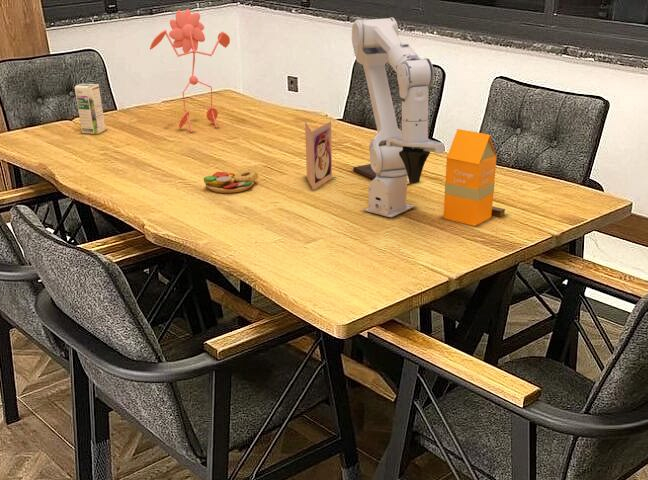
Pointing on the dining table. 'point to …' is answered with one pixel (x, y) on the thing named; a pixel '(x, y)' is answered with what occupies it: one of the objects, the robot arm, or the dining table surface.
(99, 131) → the syrup box
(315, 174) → the greeting card
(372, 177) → the chocolate bar
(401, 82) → the robot arm
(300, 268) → the dining table surface
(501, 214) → the walnut batten
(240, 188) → the toy food set
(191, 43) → the figurine
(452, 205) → the orange juice
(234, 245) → the dining table surface
